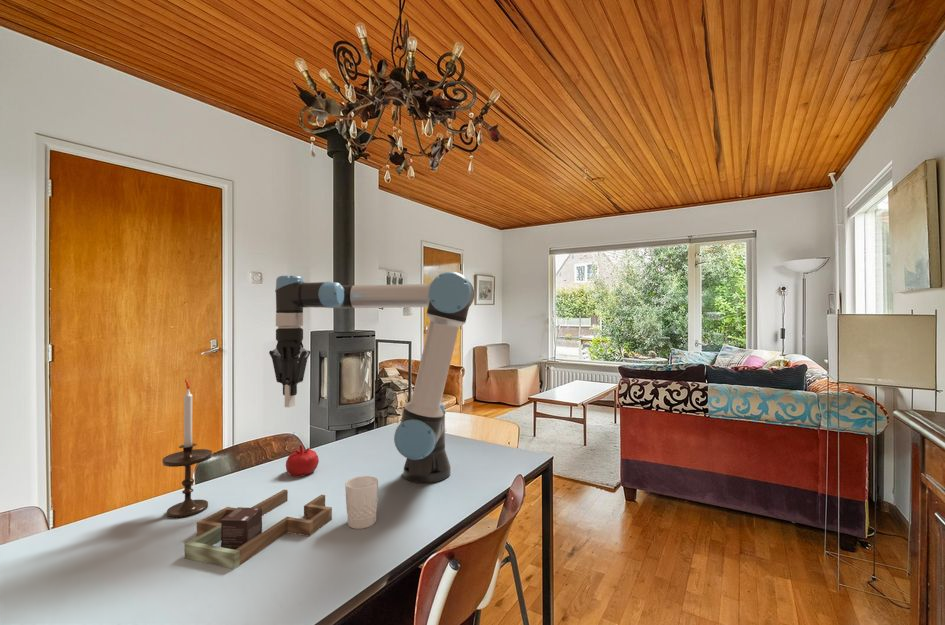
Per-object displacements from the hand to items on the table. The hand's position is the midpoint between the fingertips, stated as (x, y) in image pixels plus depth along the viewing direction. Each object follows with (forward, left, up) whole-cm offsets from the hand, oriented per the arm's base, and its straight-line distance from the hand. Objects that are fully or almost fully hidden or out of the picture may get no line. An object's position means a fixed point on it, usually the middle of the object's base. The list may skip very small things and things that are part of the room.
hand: (289, 406), depth 125 cm
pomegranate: (+5, -11, -25) cm, 28 cm away
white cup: (-32, +13, -25) cm, 42 cm away
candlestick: (+16, +20, -25) cm, 35 cm away
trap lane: (-11, +22, -24) cm, 35 cm away
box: (-12, +30, -25) cm, 40 cm away
